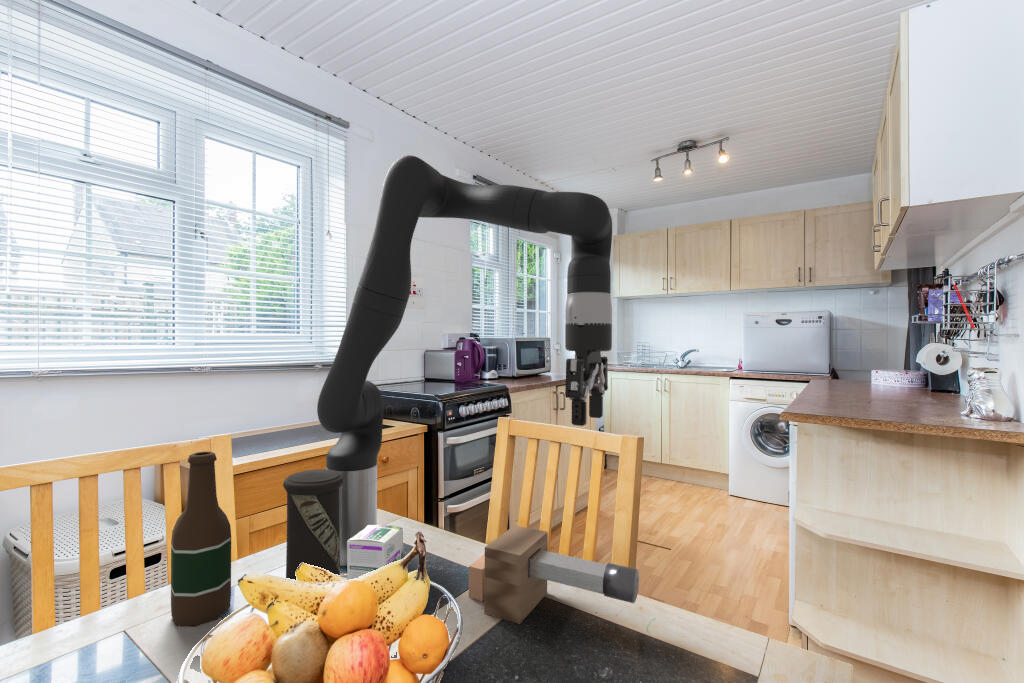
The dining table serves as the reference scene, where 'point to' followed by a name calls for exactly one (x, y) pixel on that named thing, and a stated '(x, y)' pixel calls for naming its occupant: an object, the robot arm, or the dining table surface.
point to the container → (313, 520)
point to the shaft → (586, 574)
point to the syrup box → (373, 549)
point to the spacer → (477, 579)
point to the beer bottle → (200, 550)
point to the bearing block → (513, 574)
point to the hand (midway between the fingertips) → (587, 421)
